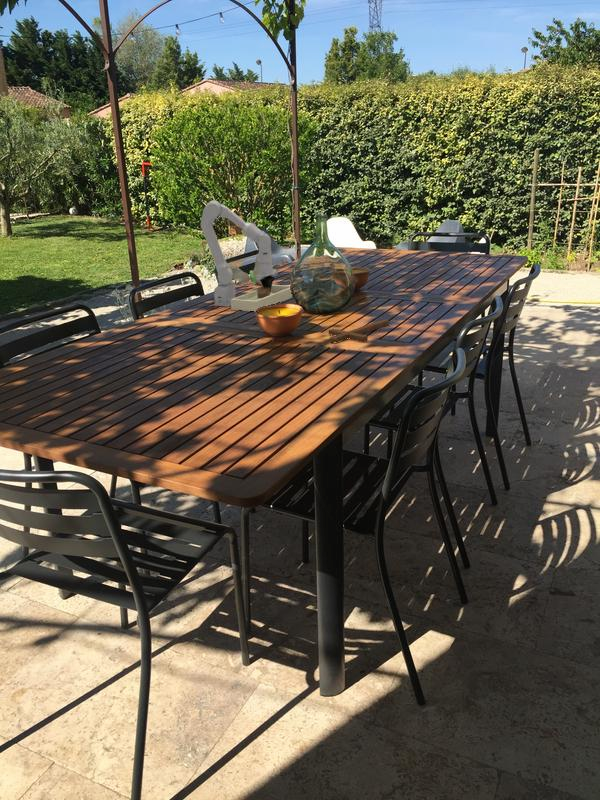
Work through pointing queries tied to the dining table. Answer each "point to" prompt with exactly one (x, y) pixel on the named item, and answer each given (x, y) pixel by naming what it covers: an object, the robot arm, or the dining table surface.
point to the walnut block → (263, 292)
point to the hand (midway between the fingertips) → (267, 293)
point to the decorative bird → (245, 276)
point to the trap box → (261, 299)
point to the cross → (357, 332)
